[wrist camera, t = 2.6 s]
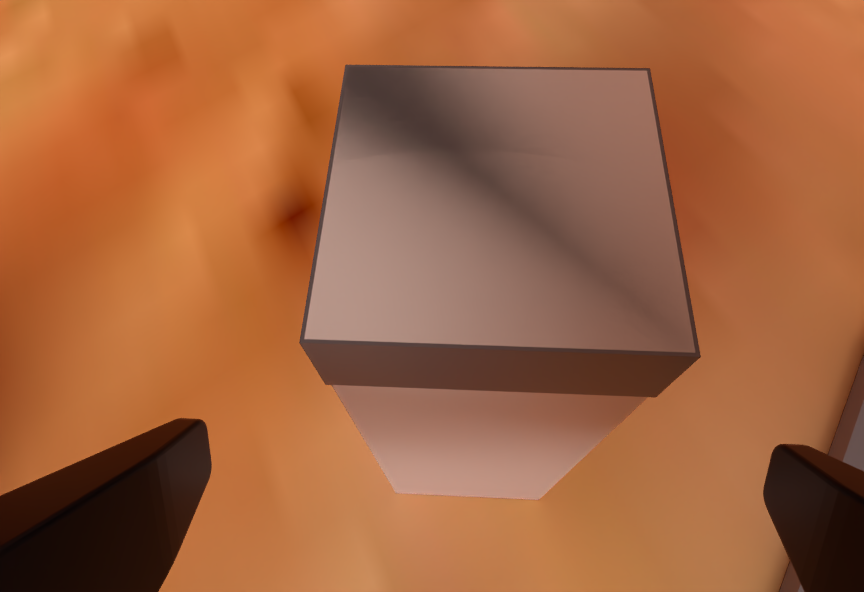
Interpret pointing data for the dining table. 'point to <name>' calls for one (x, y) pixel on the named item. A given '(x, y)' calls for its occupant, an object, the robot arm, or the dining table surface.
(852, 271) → the dining table surface
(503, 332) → the block
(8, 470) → the dining table surface
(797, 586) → the pad
